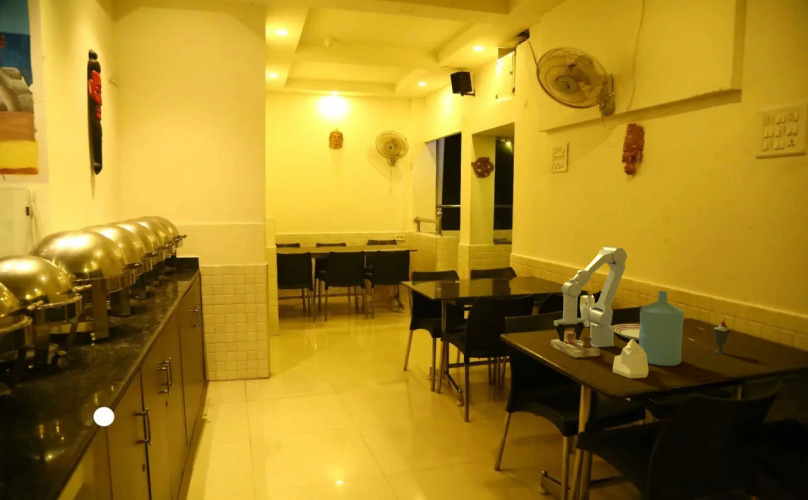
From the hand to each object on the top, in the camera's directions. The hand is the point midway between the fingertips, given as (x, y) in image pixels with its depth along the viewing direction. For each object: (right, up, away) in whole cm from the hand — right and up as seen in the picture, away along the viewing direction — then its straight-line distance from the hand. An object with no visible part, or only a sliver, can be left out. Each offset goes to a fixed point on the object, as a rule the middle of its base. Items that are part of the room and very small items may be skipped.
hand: (569, 340), depth 225 cm
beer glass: (+21, +1, +37) cm, 43 cm away
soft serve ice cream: (+14, -7, -31) cm, 35 cm away
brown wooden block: (0, -3, 0) cm, 3 cm away
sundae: (+61, -4, -7) cm, 62 cm away
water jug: (+31, -5, -17) cm, 36 cm away
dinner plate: (+40, -2, +17) cm, 43 cm away
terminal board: (+1, -4, -3) cm, 5 cm away
